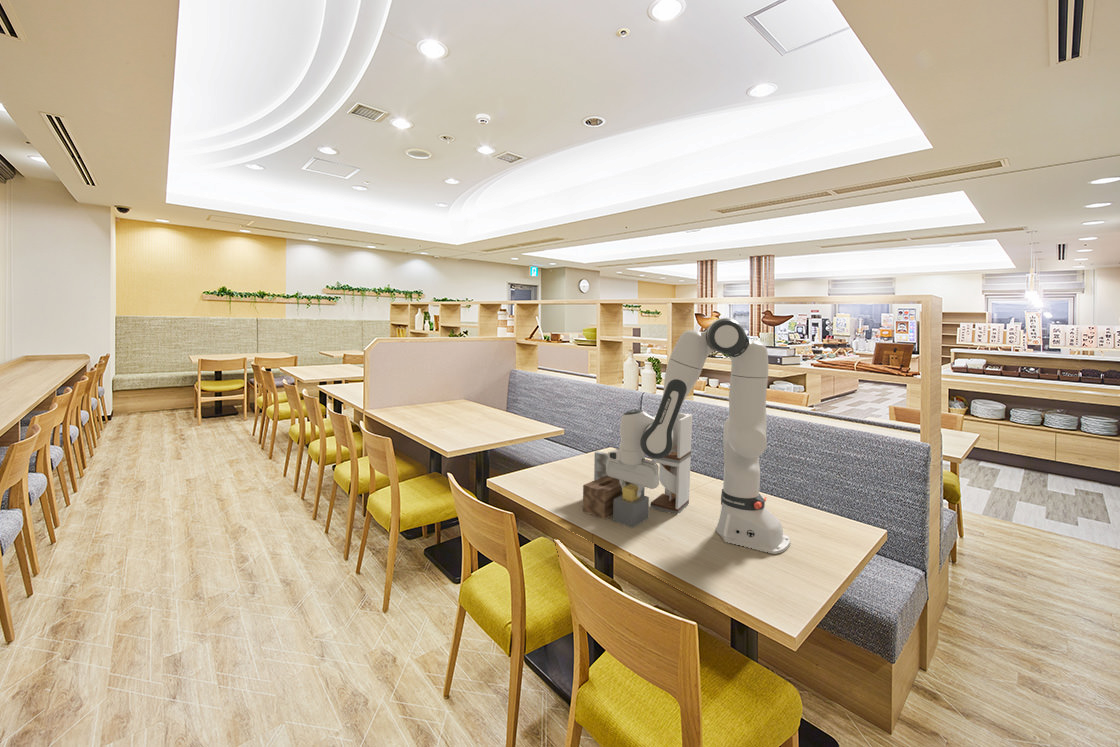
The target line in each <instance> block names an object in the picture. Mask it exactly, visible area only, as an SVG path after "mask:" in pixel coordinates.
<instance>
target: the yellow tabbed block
mask: <svg viewBox="0 0 1120 747" xmlns="http://www.w3.org/2000/svg"><path fill="white" fill-rule="evenodd" d="M638 489H639V488H638V486H637V485H633V484H629V485H627V486H625V487H623V499H626V501H634V500H636V499H638V498H640V497H637V496H635V491H637V490H638Z"/></svg>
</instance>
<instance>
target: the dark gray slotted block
mask: <svg viewBox="0 0 1120 747" xmlns="http://www.w3.org/2000/svg"><path fill="white" fill-rule="evenodd" d="M649 499H650V497H649V496H647V495H645V494H644V495H641V496H640V498H638V499H636V500H634V501H626V499H623V495H621V496H619V497H617V498H615V499H614V502H613V515H612V522H615V523H617V524H621V525H623V526H626V527H629V528H631V529H632V528H634V527H636V526H639V525H640V524H641V523H643V522H645V521H647V520H648V519H649V505H650V503H649V502H650V500H649Z"/></svg>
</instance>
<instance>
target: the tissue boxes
mask: <svg viewBox="0 0 1120 747" xmlns="http://www.w3.org/2000/svg"><path fill="white" fill-rule="evenodd" d="M607 453H608V452H607ZM607 453H606V452H602V451H598V450H597V451H594V471H593V472H594V473H593V476H594V479H593V480H592V481H589V482H587V483H584V484H583V485H582V487H583V488H582V512H584V513H587V514H589V513H590V515H592V514H593V515H592V516H595V517H598V518H601V519H604V520H606V519H608V518H610V517H611V516H612V517H613V502H614V499H615V498H617V497H619V496H621V495H623V492H622V487H621V485H620V482H619V479H616V478H613V477H609V476H608V475H607V474H606V463H607V459H608V456H607ZM625 484H626V486H627V485H629V484H633V483H630V482H625ZM633 485H636V484H633ZM637 486H638V485H637ZM645 488H646V487H644V488H643V490H642V491H641V495H644V496H645Z"/></svg>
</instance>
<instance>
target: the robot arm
mask: <svg viewBox="0 0 1120 747" xmlns="http://www.w3.org/2000/svg"><path fill="white" fill-rule="evenodd" d="M714 352H718V353H719V354H723V355H726V356H729V358H730V362H731V363H730V364H731V367H730V378H729V379H730V380H729V391H728V404H729V406H728V407H729V417H728V418H726V420H725V421H724V424H723V483H722V484H723V487H722V489H721V495H720V505H721V509H720V513H719V519H718V522H717V525H716V526H715V531H716V533H717V534H718V535H719V536H720V537H722V540H723V541H724V542H725V543H727V542H728V543H727V544H730V543H732V544H731V545H734V544H736V545H735V546H738V545H740V547H742V546H744V547H743V548H746V547H748V548H747V549H751V548H752V550H755V549H756V550H755V551H759V550H760V551H759V552H763V551H764V553H767V552H768V554H771V553H772V555H777V554H781V553H783V552H785V551H787V549H789V547H790V545H791V539H790V537H789V536H788V535H786V534H784V533H783V525H782V522H781V521H780V519H778V518H777V517H776V516H775V515H774V514H773V513H772V512H770V510H769V509H768V508H767V507H766V506H765V505H766V503H765V502H766V501H767V497H766V496H765V497H764V498H763V496H761V494H760V484H761V483H760V482H761V481H760V480H761V466H760V456H762V455H763V453H765V451H766V448H767V447H768V446H767V445H768V444H767V441H768V440H767V439H768V438H767V406H766V405H767V390H768V380H769V353H768V349H767V347H766V345H765V344H764V343H762V342H760V341H757V340H752V339H751V340H750V339H749V338H748V336H747V334H746V331H745V329H744V327H743V326H742V324H741V323H739V322H738V321H737V320H735V319H733V318H731V317H720V318H717V319H716V320H714V321H713V322H711V324H710V325H708V326H707V327H706V328H705V329H703V331H699V330H695V329H690V330H685V331H684V332H682V333H681V335H680V336H679V338H678V340H677V341H676V343H675V344H674V346H673V350H672V352H671V353H670V357H669V358H668V361H667V365H666V369H665V374H664V382H663V392H662V393H663V394H662V397H661V401H660V404H659V407H658V410H657V413H656V414H655V415H656V417H655V418H654V417H653V416H652V415H650V414H648V413H647V412H646V411H645V410H643V409H637V408H636V409H635V408H634V409H632V410H630V409H629V410H627V411H625V412H624V413H623V414H622V415H621V418H620V423H619V424H620V425H619V437H620V444H619V448H616V449H612V450H611V451H608V452H607V456H608V459H607V463H606V474H607V475H608V476H609V477H613V478H616V479H619V482H620V485H621V487H622V492H623V487H625V486H626V484H625V482H630V483H633V484H636V485H638V488H639V489H638V490H637V491H635V496H637V497H640V496H641V491H642V490H643V488H644V487H645V488H647V489H650V490H651V489H652V490H654V489H655V488H658V487H659V485H660V480H659V465H658V463H655V462H654V461H652V460H649V459H646V456H647V457H649V458H651V459H652V458H655V459H660V458H663V457H665V456H667V455H668V454H669V453H670V451H671V449H672V441H673V435H674V432H673V426H674V424H675V421H676V418H677V415H678V413H680V410H681V408H682V405H683V403H684V402H685V400H686V398H687V397H688V396H689V394H690V392H691V391H692V390H693V387H695V384H697V381H698V379H699V377H700V375H701V374H702V371H703V369H704V366H705V363H706V361H707V358H708V357H709V355H711V354H712V353H714Z"/></svg>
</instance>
